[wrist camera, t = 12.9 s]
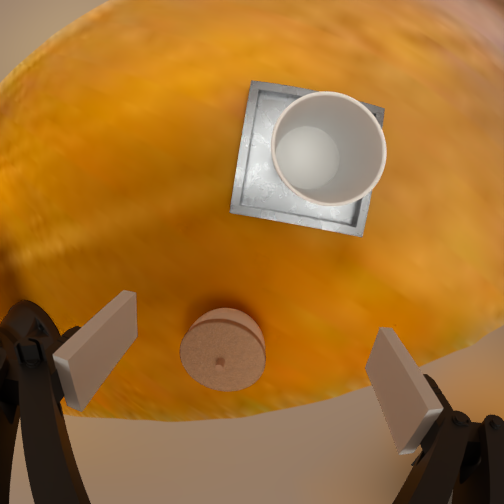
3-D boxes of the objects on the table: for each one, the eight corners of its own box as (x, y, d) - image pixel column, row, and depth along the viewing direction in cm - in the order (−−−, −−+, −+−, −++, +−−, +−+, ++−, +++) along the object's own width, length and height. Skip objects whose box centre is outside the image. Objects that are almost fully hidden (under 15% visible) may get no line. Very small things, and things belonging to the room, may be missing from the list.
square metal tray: (233, 209, 38) (229, 212, 35) (253, 87, 33) (251, 80, 31) (355, 232, 37) (362, 237, 34) (377, 112, 33) (384, 108, 30)
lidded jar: (182, 306, 42) (160, 340, 33) (253, 286, 40) (246, 319, 31) (211, 365, 44) (197, 405, 35) (277, 350, 43) (276, 391, 34)
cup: (259, 165, 35) (246, 160, 20) (298, 111, 33) (314, 69, 18) (315, 204, 36) (343, 230, 20) (353, 151, 34) (406, 140, 18)
